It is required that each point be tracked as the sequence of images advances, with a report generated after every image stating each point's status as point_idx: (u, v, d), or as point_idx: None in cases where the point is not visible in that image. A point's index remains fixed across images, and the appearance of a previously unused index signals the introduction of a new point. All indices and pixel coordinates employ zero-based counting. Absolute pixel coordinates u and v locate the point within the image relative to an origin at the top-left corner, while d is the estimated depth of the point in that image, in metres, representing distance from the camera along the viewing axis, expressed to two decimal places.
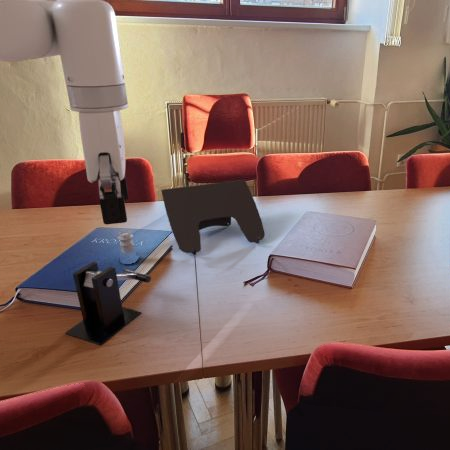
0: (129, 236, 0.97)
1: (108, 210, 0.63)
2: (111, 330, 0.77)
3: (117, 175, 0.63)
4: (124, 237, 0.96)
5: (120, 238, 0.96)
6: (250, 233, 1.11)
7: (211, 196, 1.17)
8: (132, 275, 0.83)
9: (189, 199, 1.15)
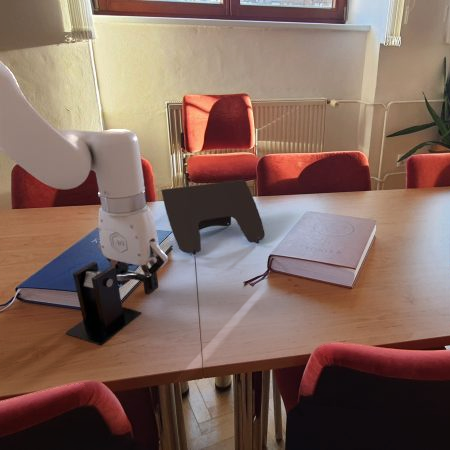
0: None
1: (152, 283, 0.83)
2: (111, 330, 0.77)
3: (152, 255, 0.83)
4: None
5: None
6: (250, 233, 1.11)
7: (211, 196, 1.17)
8: (132, 275, 0.83)
9: (189, 199, 1.15)
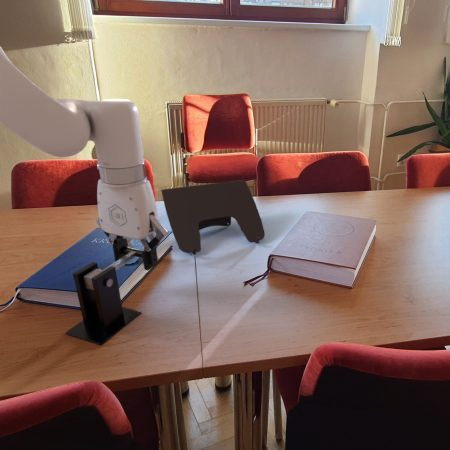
0: None
1: (152, 258, 0.82)
2: (111, 330, 0.77)
3: (152, 230, 0.82)
4: (124, 237, 0.96)
5: None
6: (250, 233, 1.11)
7: (211, 196, 1.17)
8: (131, 255, 0.82)
9: (189, 199, 1.15)
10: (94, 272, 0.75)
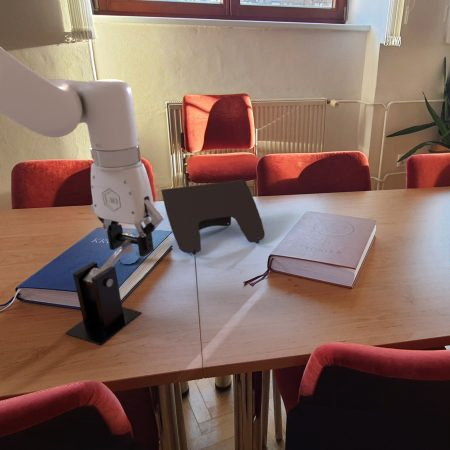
0: None
1: (147, 244, 0.80)
2: (111, 330, 0.77)
3: (147, 215, 0.80)
4: None
5: None
6: (250, 233, 1.11)
7: (211, 196, 1.17)
8: (127, 245, 0.81)
9: (189, 199, 1.15)
10: (92, 273, 0.75)
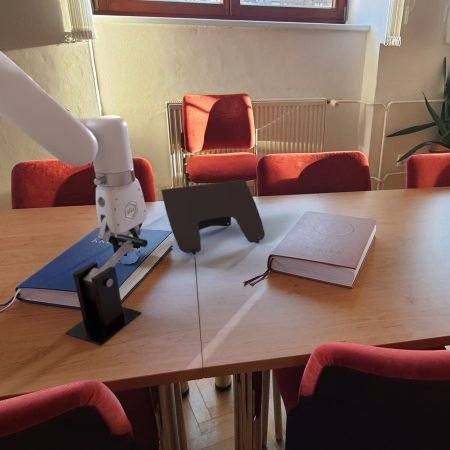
0: None
1: None
2: (111, 330, 0.77)
3: None
4: None
5: None
6: (250, 233, 1.11)
7: (211, 195, 1.17)
8: (128, 245, 0.81)
9: (189, 199, 1.15)
10: (92, 273, 0.75)
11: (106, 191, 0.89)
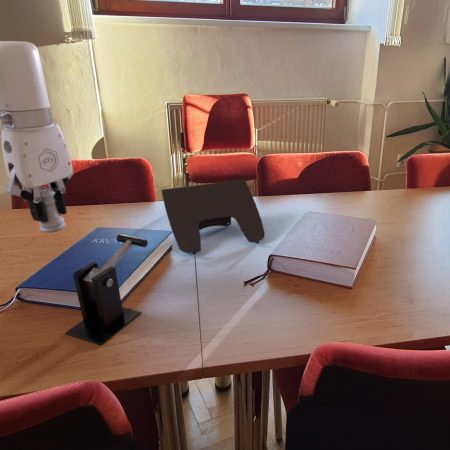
0: (49, 193, 0.81)
1: (63, 200, 0.85)
2: (111, 330, 0.77)
3: None
4: (43, 194, 0.80)
5: None
6: (250, 233, 1.11)
7: (211, 195, 1.17)
8: (128, 245, 0.81)
9: (189, 199, 1.15)
10: (92, 273, 0.75)
11: (12, 133, 0.73)
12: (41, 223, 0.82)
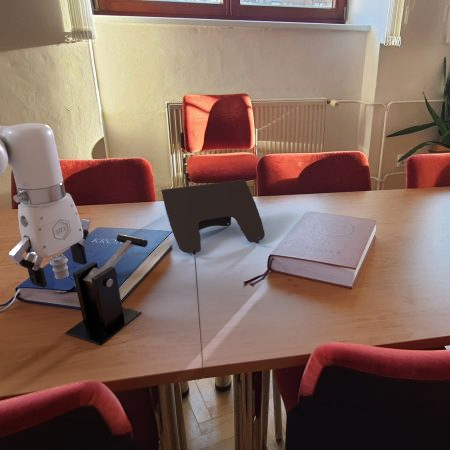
0: (63, 261, 0.86)
1: None
2: (111, 330, 0.77)
3: None
4: (56, 262, 0.86)
5: (52, 263, 0.86)
6: (250, 233, 1.11)
7: (211, 195, 1.17)
8: (128, 245, 0.81)
9: (189, 199, 1.15)
10: (92, 273, 0.75)
11: (28, 209, 0.78)
12: None
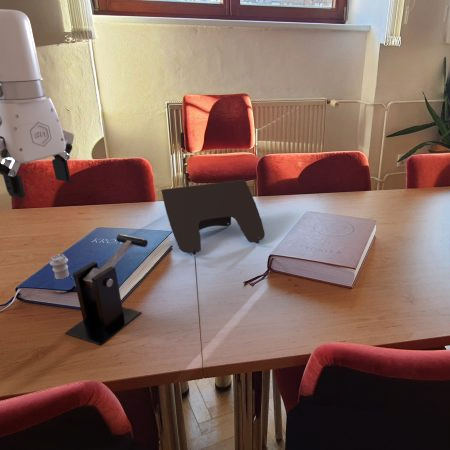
0: (63, 261, 0.86)
1: None
2: (111, 330, 0.77)
3: None
4: (56, 262, 0.86)
5: (52, 263, 0.86)
6: (250, 233, 1.11)
7: (211, 195, 1.17)
8: (128, 245, 0.81)
9: (189, 199, 1.15)
10: (92, 273, 0.75)
11: (2, 105, 0.70)
12: None
